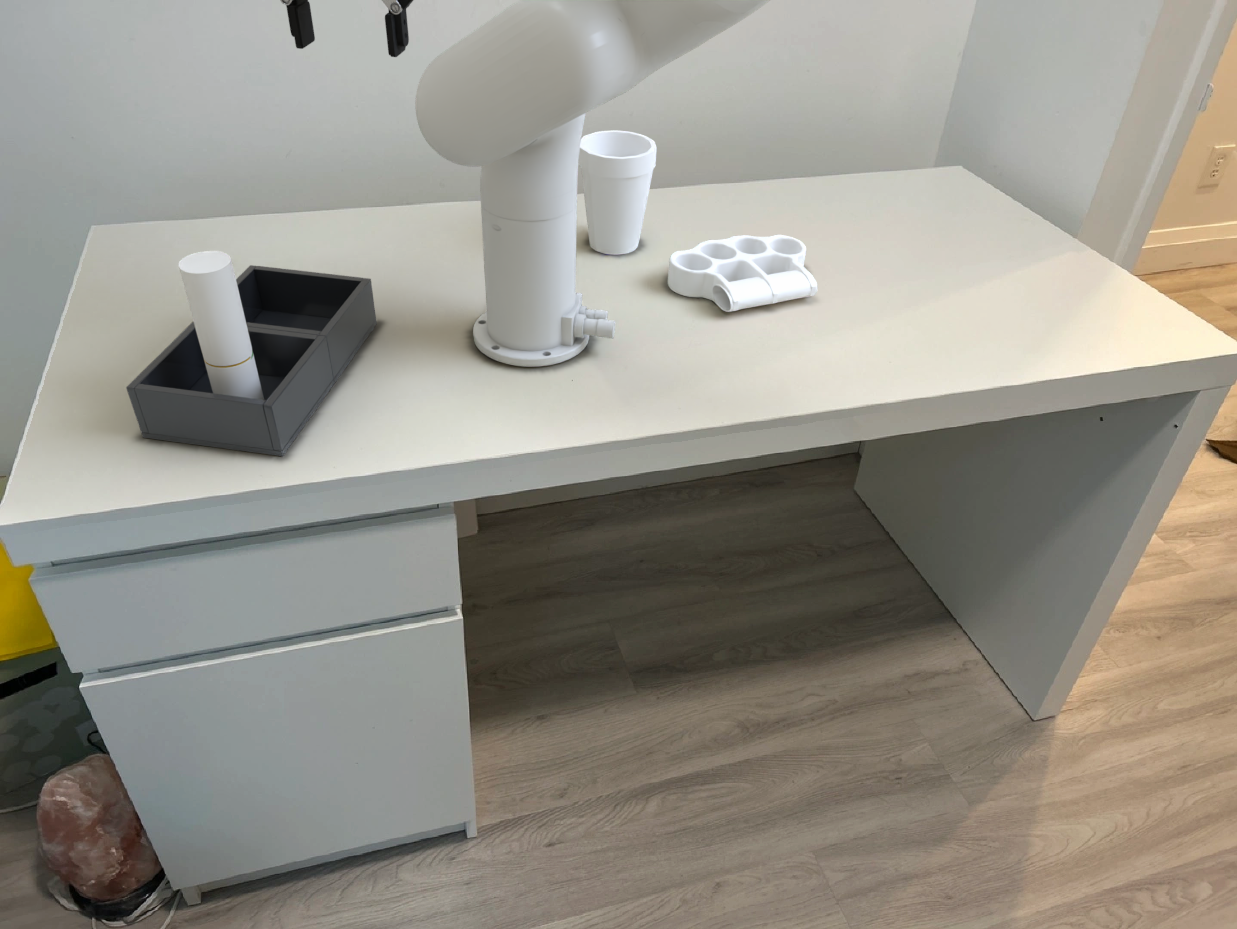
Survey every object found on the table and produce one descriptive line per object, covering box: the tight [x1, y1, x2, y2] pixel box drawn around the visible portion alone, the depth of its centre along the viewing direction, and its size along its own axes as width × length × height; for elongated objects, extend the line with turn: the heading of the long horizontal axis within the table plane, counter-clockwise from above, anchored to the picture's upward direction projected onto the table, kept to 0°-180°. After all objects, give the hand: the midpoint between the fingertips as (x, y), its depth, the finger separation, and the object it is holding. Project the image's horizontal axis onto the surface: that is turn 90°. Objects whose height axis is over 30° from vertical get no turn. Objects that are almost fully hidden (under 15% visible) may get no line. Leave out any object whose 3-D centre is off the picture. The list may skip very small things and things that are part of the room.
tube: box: [178, 250, 264, 400], centre depth 87 cm, size 4×4×15 cm
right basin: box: [236, 265, 378, 385], centre depth 100 cm, size 14×12×6 cm
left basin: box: [125, 320, 335, 457], centre depth 91 cm, size 14×12×6 cm
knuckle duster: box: [667, 234, 819, 313], centre depth 116 cm, size 3×18×15 cm
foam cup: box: [578, 129, 658, 256], centre depth 120 cm, size 10×9×13 cm
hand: (351, 49), depth 97 cm, fingers open, 9 cm apart
